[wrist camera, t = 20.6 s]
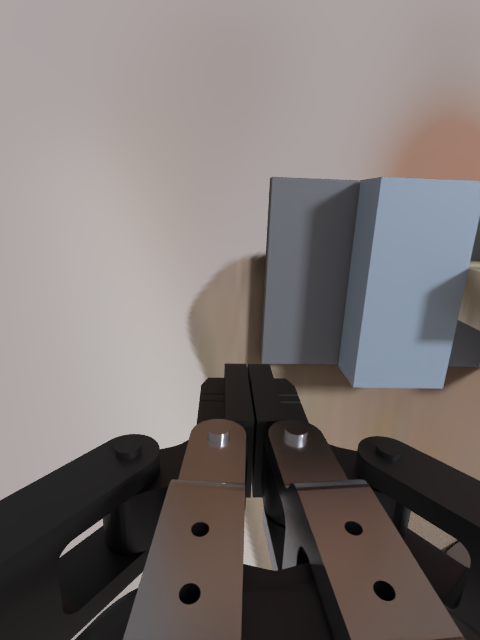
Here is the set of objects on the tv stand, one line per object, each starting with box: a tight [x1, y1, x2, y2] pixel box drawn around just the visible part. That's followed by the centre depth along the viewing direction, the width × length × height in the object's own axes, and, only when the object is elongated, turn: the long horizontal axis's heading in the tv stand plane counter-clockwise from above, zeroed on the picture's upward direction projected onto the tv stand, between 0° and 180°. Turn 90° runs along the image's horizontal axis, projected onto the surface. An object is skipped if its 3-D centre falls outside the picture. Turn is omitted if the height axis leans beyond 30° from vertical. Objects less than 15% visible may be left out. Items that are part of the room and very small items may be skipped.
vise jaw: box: [338, 177, 480, 389], centre depth 31 cm, size 16×8×4 cm, turn 178°
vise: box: [260, 177, 480, 368], centre depth 32 cm, size 16×24×6 cm, turn 88°
